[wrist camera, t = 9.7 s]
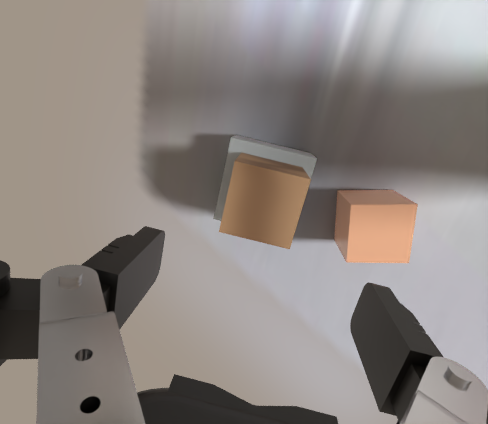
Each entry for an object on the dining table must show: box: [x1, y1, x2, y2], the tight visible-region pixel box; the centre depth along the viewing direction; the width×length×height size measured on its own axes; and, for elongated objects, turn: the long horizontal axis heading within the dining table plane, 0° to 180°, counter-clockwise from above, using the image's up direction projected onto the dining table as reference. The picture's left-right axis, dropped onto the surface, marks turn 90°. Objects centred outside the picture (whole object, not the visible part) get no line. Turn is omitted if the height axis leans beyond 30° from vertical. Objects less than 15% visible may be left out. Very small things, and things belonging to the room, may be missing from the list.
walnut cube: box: [219, 152, 311, 249], centre depth 22 cm, size 5×5×5 cm
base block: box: [214, 135, 317, 221], centre depth 26 cm, size 7×7×4 cm
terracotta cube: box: [334, 190, 418, 263], centre depth 26 cm, size 5×5×5 cm
